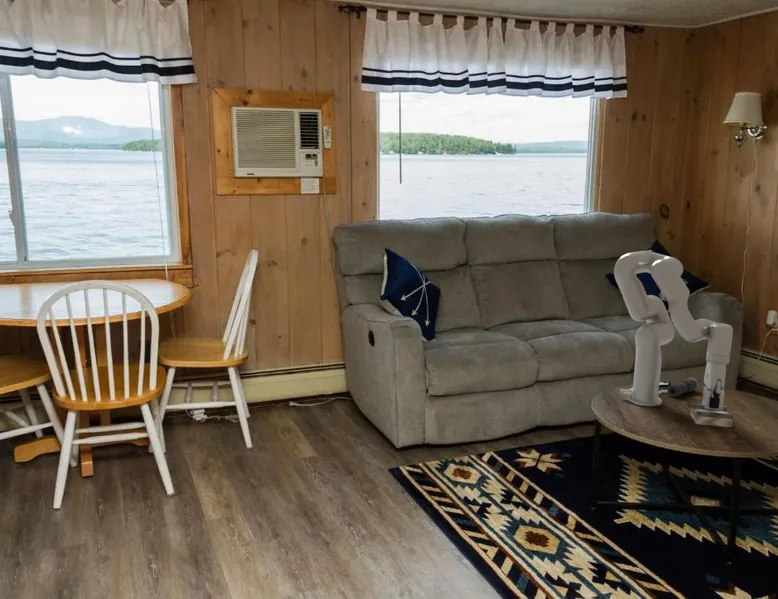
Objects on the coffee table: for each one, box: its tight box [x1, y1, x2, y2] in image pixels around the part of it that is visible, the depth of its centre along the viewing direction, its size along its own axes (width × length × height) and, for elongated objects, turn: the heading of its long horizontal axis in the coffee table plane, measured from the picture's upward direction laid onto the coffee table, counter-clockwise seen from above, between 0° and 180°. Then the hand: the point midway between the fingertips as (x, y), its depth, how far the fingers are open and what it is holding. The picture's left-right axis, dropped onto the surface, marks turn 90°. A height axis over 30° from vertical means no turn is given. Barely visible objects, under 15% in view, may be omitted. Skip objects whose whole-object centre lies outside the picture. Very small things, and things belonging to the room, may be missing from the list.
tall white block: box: [701, 386, 726, 410], centre depth 247 cm, size 6×4×7 cm
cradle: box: [690, 402, 734, 428], centre depth 248 cm, size 12×10×4 cm
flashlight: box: [666, 377, 699, 398], centre depth 278 cm, size 15×5×5 cm, turn 128°
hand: (712, 405), depth 248 cm, fingers closed on tall white block, 4 cm apart
